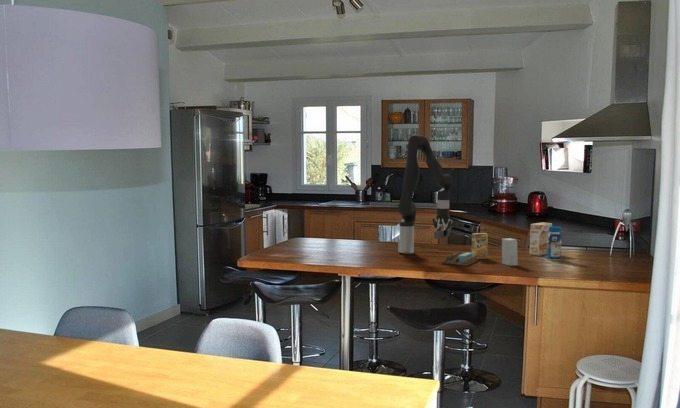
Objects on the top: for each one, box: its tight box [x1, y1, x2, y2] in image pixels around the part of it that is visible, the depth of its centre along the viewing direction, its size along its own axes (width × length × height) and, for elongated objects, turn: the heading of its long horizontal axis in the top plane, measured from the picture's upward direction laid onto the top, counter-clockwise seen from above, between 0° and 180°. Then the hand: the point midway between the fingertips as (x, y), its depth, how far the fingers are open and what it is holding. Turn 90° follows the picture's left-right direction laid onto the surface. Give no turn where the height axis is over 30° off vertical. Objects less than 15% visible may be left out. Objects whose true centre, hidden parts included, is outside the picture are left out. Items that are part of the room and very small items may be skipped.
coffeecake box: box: [529, 221, 553, 257], centre depth 376 cm, size 15×7×20 cm, turn 131°
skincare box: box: [501, 237, 519, 266], centre depth 340 cm, size 8×6×15 cm
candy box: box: [471, 232, 489, 260], centre depth 358 cm, size 9×4×15 cm, turn 107°
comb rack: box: [443, 252, 478, 267], centre depth 346 cm, size 18×14×4 cm
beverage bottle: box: [546, 225, 563, 262], centre depth 355 cm, size 8×8×20 cm
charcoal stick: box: [433, 228, 451, 240], centre depth 357 cm, size 12×4×4 cm, turn 137°
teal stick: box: [458, 251, 472, 263], centre depth 345 cm, size 12×4×4 cm, turn 147°
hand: (442, 235), depth 357 cm, fingers closed on charcoal stick, 3 cm apart
